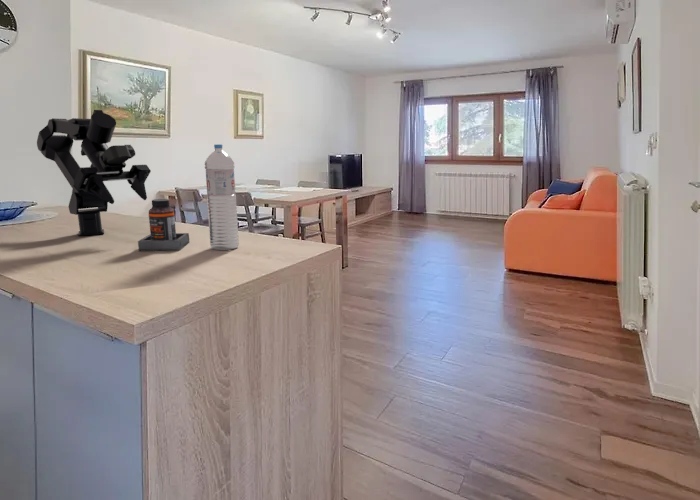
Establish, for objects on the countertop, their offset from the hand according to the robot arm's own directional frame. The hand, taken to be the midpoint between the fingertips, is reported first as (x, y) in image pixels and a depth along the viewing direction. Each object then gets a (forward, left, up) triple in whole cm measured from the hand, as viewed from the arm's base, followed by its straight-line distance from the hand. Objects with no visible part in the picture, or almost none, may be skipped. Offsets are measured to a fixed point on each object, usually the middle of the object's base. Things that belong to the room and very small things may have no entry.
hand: (129, 200), depth 124 cm
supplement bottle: (+9, +6, -11) cm, 16 cm away
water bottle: (+18, +20, -11) cm, 29 cm away
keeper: (+10, +7, -11) cm, 16 cm away
